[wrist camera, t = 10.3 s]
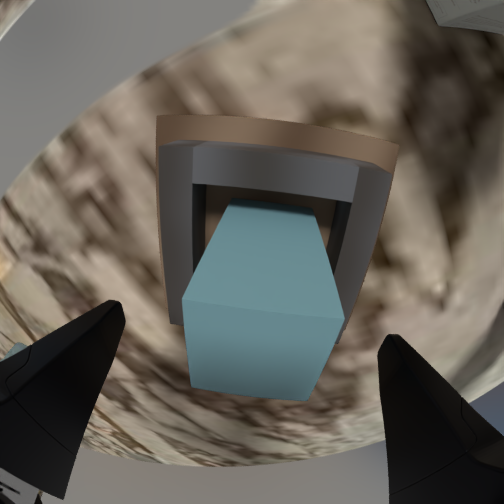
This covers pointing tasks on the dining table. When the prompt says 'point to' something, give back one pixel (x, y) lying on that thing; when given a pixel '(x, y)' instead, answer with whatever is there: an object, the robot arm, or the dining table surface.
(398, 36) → the dining table surface
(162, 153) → the socket block
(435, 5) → the supplement box
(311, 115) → the dining table surface
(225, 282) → the peg
